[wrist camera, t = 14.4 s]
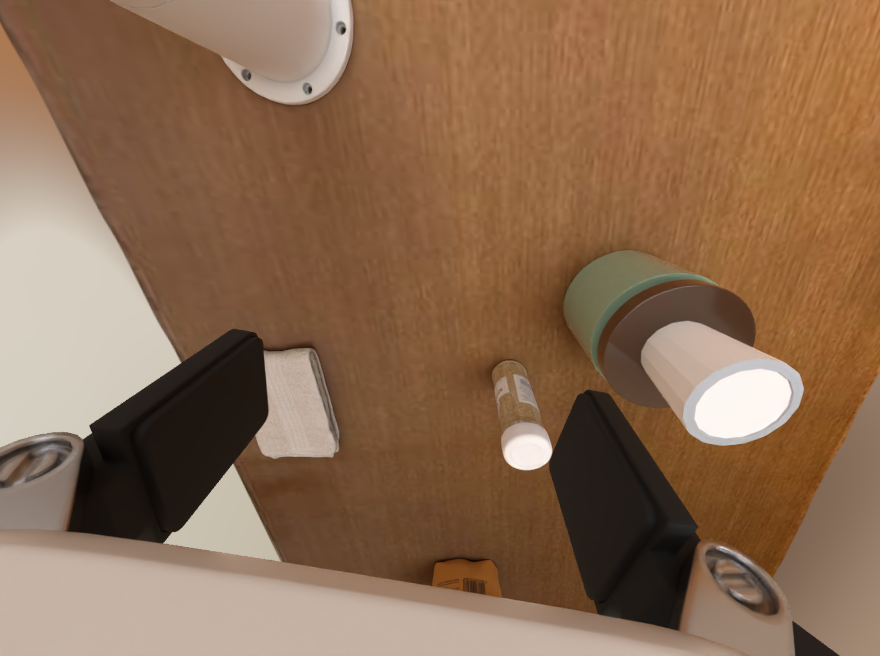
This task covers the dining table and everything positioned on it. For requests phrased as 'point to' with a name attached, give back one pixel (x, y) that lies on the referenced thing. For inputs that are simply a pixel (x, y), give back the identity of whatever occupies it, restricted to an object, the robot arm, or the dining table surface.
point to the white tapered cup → (720, 383)
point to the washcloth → (297, 407)
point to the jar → (644, 315)
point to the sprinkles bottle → (519, 418)
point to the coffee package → (468, 576)
